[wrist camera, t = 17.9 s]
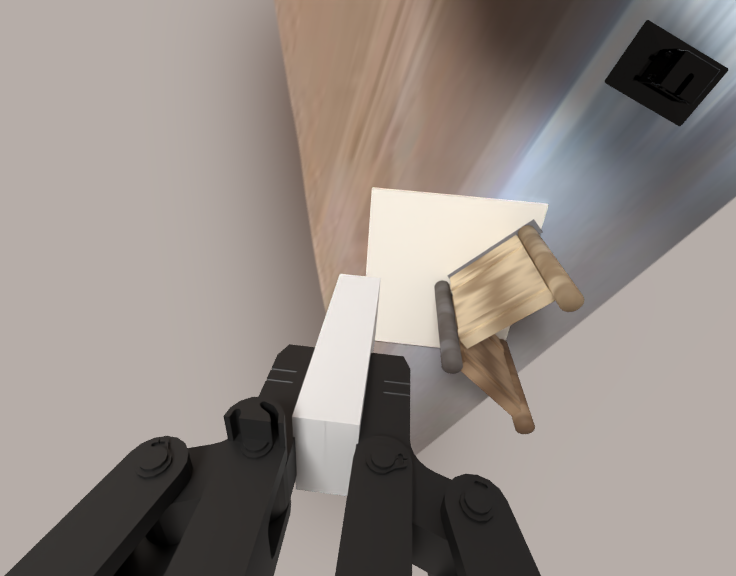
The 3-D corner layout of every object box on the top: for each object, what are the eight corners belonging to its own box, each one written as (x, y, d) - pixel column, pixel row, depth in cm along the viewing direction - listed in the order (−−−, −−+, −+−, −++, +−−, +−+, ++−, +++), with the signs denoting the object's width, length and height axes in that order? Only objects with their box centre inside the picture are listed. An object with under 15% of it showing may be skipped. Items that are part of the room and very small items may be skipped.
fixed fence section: (440, 296, 51) (449, 376, 38) (431, 285, 50) (437, 364, 37) (538, 234, 45) (588, 303, 32) (529, 221, 45) (577, 287, 32)
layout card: (372, 187, 45) (371, 189, 44) (549, 203, 44) (551, 205, 43) (361, 337, 56) (361, 340, 56) (501, 353, 55) (502, 356, 55)
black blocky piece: (582, 82, 38) (601, 85, 34) (639, -2, 35) (667, -9, 31) (682, 139, 40) (711, 148, 36) (746, 65, 36) (786, 66, 32)
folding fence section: (444, 301, 51) (454, 377, 39) (456, 292, 50) (470, 367, 38) (498, 352, 54) (522, 436, 42) (510, 345, 53) (538, 428, 41)
